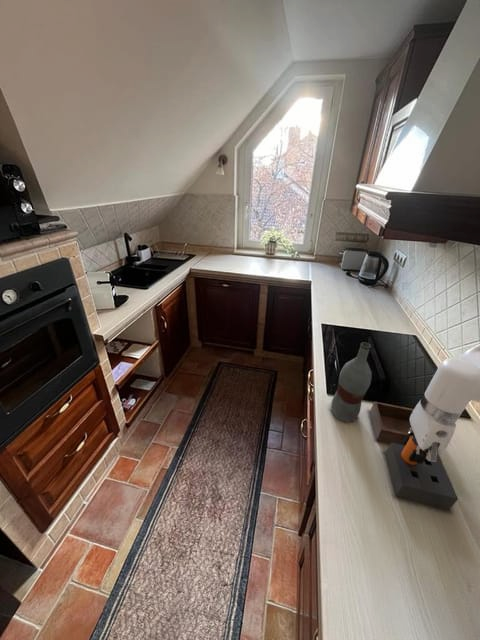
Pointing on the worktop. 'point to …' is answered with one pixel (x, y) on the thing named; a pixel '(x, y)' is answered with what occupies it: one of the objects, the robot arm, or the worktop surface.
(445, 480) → the holder
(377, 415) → the tool tray
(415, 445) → the screwdriver
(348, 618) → the worktop surface
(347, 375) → the bottle
